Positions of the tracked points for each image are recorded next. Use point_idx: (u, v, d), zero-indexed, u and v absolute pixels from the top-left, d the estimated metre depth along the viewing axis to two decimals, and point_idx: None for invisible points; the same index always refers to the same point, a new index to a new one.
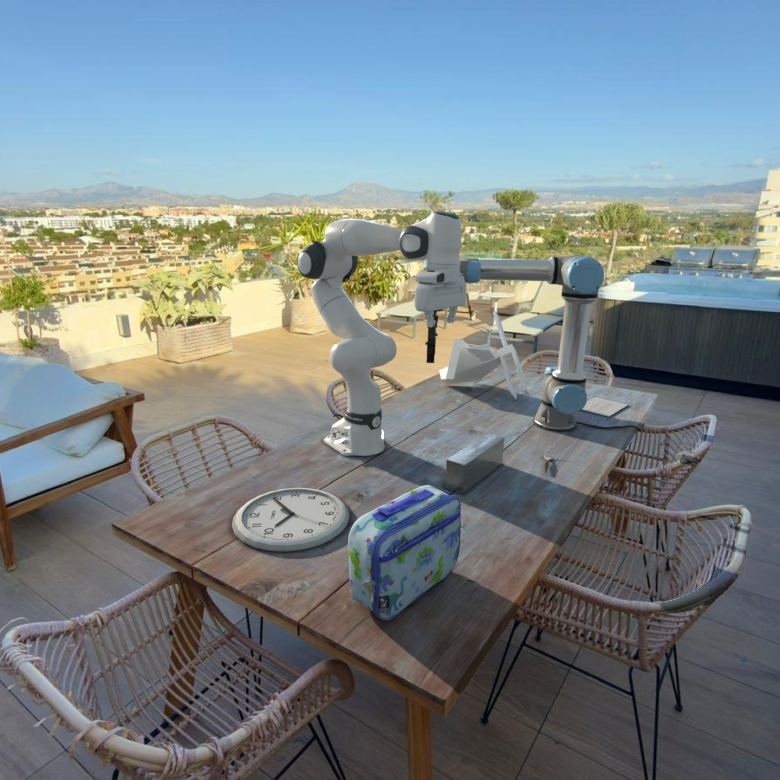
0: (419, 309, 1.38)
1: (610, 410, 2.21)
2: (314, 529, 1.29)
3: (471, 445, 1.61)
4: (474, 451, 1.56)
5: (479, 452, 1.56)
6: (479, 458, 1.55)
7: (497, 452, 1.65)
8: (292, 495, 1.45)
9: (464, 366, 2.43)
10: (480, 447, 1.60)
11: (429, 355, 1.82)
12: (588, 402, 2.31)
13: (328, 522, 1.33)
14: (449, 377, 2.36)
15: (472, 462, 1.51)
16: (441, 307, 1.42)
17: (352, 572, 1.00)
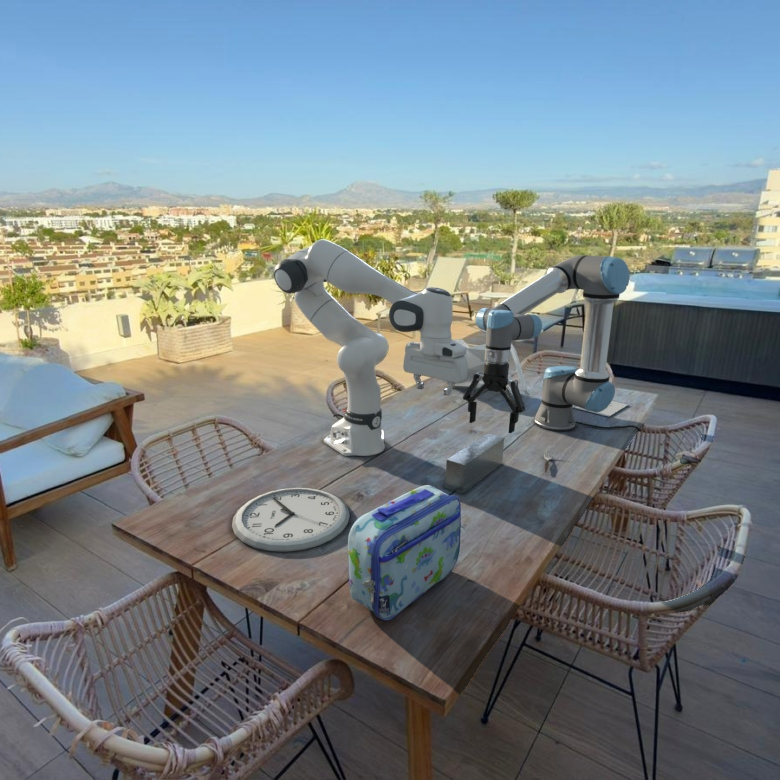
0: (463, 381, 1.46)
1: (610, 410, 2.21)
2: (314, 529, 1.29)
3: (471, 445, 1.61)
4: (474, 451, 1.56)
5: (479, 452, 1.56)
6: (479, 458, 1.55)
7: (497, 452, 1.65)
8: (292, 495, 1.45)
9: None
10: (480, 447, 1.60)
11: (512, 425, 1.60)
12: None
13: (328, 522, 1.33)
14: None
15: (472, 462, 1.51)
16: None
17: (352, 572, 1.00)
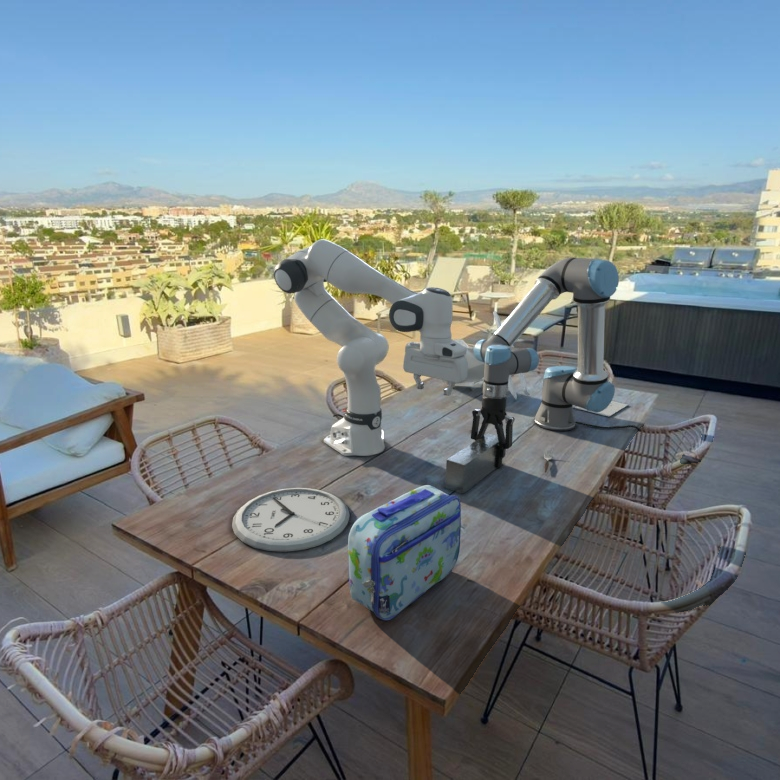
0: (463, 381, 1.46)
1: (610, 410, 2.21)
2: (314, 529, 1.29)
3: (471, 445, 1.61)
4: (474, 451, 1.56)
5: (479, 452, 1.56)
6: (479, 458, 1.55)
7: None
8: (292, 495, 1.45)
9: None
10: (480, 446, 1.60)
11: (499, 460, 1.66)
12: None
13: (328, 522, 1.33)
14: None
15: (472, 462, 1.51)
16: None
17: (352, 572, 1.00)
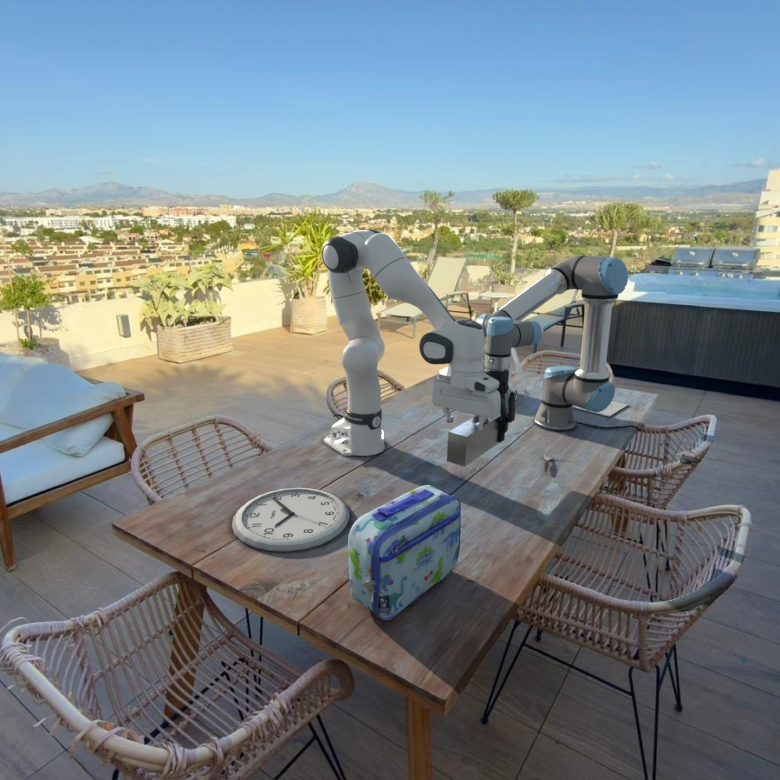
0: (496, 416, 1.41)
1: (610, 410, 2.21)
2: (314, 529, 1.29)
3: (473, 419, 1.58)
4: None
5: None
6: (482, 430, 1.52)
7: None
8: (292, 495, 1.45)
9: None
10: None
11: (502, 434, 1.63)
12: None
13: (328, 522, 1.33)
14: None
15: (474, 434, 1.48)
16: None
17: (352, 572, 1.00)
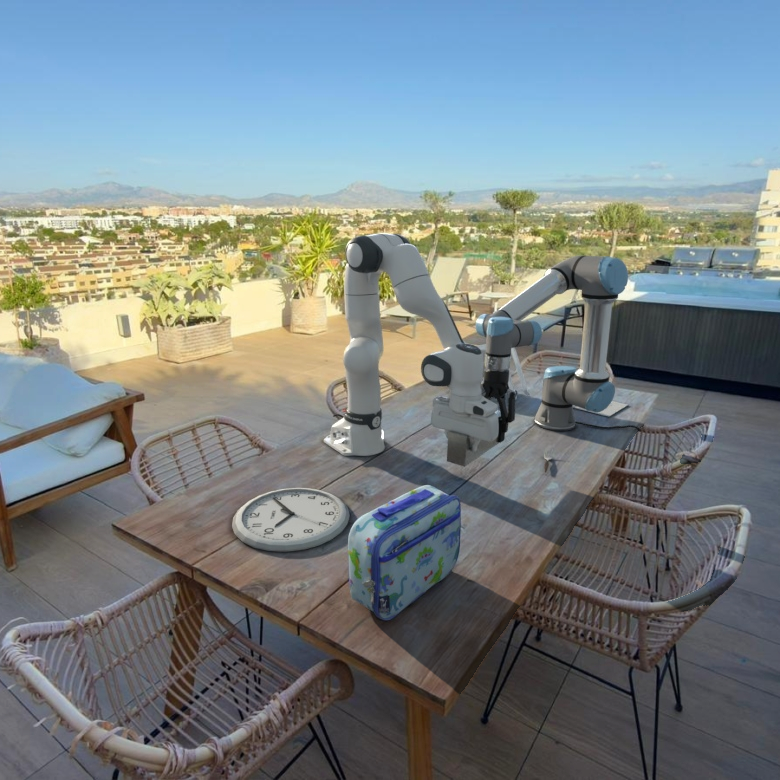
0: (494, 439, 1.43)
1: (610, 410, 2.21)
2: (314, 529, 1.29)
3: None
4: None
5: None
6: None
7: None
8: (292, 495, 1.45)
9: None
10: None
11: (502, 434, 1.63)
12: None
13: (328, 522, 1.33)
14: None
15: None
16: None
17: (352, 572, 1.00)
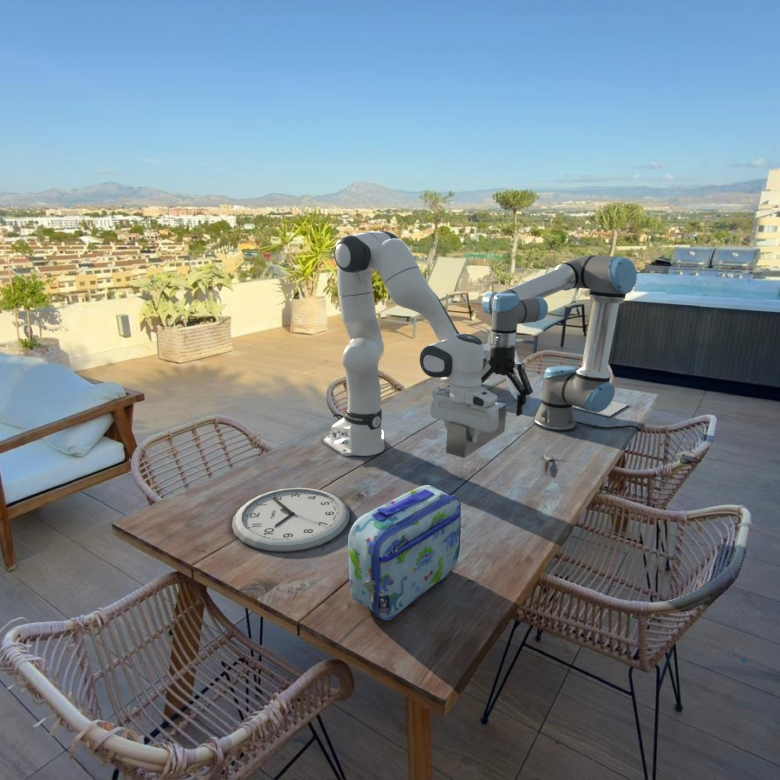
0: (494, 430, 1.42)
1: (610, 410, 2.21)
2: (314, 529, 1.29)
3: None
4: None
5: None
6: None
7: (499, 419, 1.62)
8: (292, 495, 1.45)
9: None
10: None
11: (520, 407, 1.61)
12: None
13: (328, 522, 1.33)
14: None
15: None
16: None
17: (352, 572, 1.00)
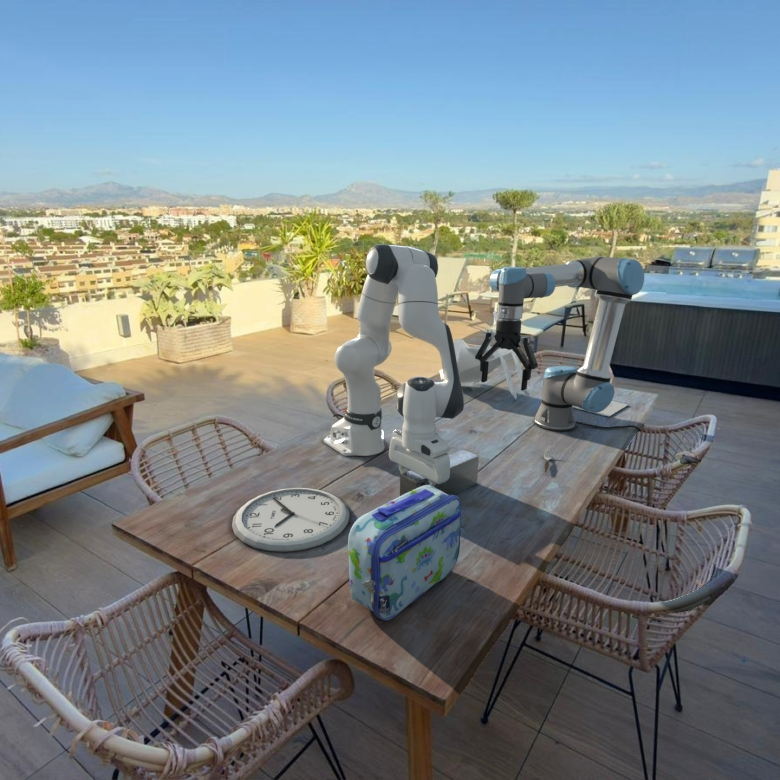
0: (443, 481, 1.33)
1: (610, 410, 2.21)
2: (314, 529, 1.29)
3: None
4: None
5: None
6: None
7: (468, 471, 1.52)
8: (292, 495, 1.45)
9: (464, 366, 2.43)
10: None
11: (525, 382, 1.61)
12: None
13: (328, 522, 1.33)
14: None
15: (427, 480, 1.40)
16: None
17: (352, 572, 1.00)
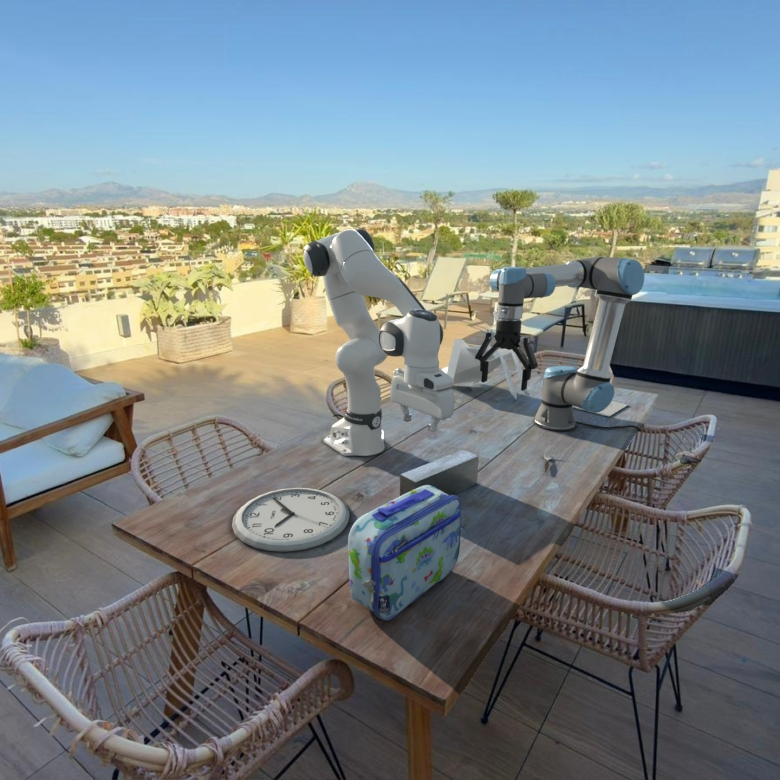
0: (447, 417, 1.28)
1: (610, 410, 2.21)
2: (314, 529, 1.29)
3: (437, 461, 1.49)
4: (435, 468, 1.45)
5: (440, 469, 1.44)
6: (439, 475, 1.43)
7: (468, 471, 1.52)
8: (292, 495, 1.45)
9: (464, 366, 2.43)
10: (445, 464, 1.48)
11: (525, 382, 1.61)
12: None
13: (328, 522, 1.33)
14: None
15: (427, 480, 1.40)
16: None
17: (352, 572, 1.00)
